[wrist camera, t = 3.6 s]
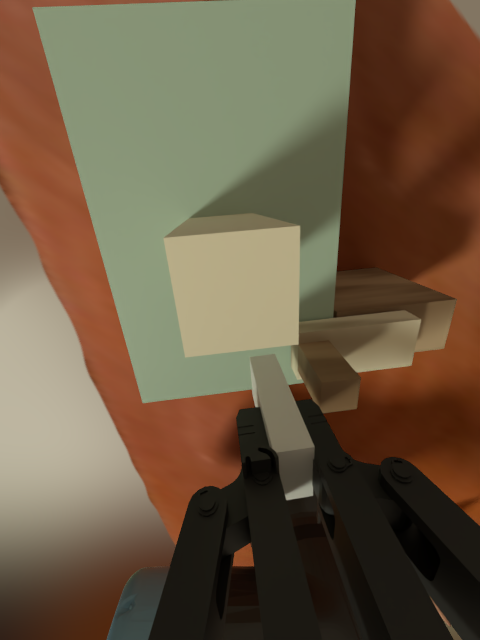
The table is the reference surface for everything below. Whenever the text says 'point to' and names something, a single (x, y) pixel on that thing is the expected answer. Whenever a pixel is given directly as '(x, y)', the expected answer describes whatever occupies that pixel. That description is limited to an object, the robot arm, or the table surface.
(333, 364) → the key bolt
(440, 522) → the robot arm
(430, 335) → the tan open box
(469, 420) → the table surface
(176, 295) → the lid
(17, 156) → the table surface
